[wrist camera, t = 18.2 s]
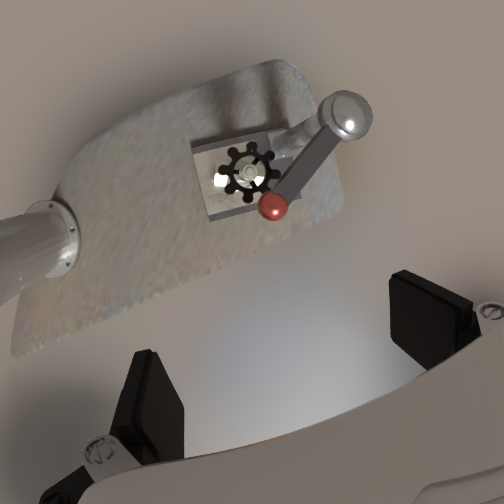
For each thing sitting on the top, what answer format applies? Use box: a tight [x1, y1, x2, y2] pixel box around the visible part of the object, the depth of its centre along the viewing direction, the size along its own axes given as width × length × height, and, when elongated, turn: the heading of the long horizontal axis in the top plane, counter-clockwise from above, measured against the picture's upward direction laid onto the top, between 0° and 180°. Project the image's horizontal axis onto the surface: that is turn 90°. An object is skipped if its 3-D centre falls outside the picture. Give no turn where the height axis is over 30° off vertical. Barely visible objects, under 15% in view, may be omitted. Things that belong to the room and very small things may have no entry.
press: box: [191, 92, 373, 222], centre depth 31 cm, size 15×11×23 cm
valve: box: [213, 141, 281, 204], centre depth 35 cm, size 7×7×12 cm
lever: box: [258, 90, 369, 221], centre depth 22 cm, size 13×4×2 cm, turn 141°
